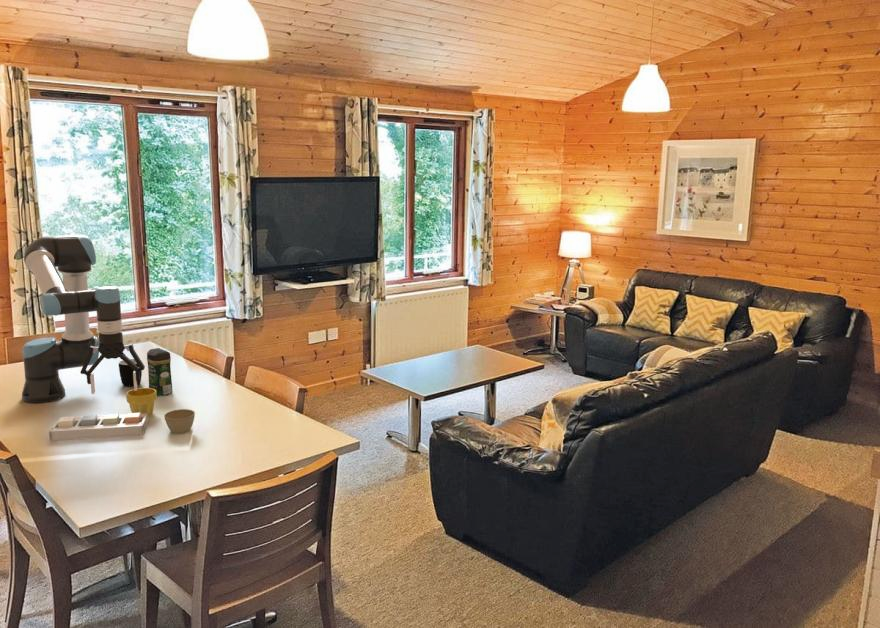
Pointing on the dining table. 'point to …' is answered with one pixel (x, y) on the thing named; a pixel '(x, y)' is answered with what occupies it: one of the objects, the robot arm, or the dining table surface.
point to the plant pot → (142, 400)
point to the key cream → (66, 422)
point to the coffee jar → (159, 371)
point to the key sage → (111, 419)
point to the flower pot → (179, 420)
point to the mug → (128, 373)
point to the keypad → (99, 429)
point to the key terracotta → (132, 418)
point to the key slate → (89, 420)
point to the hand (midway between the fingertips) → (114, 391)
